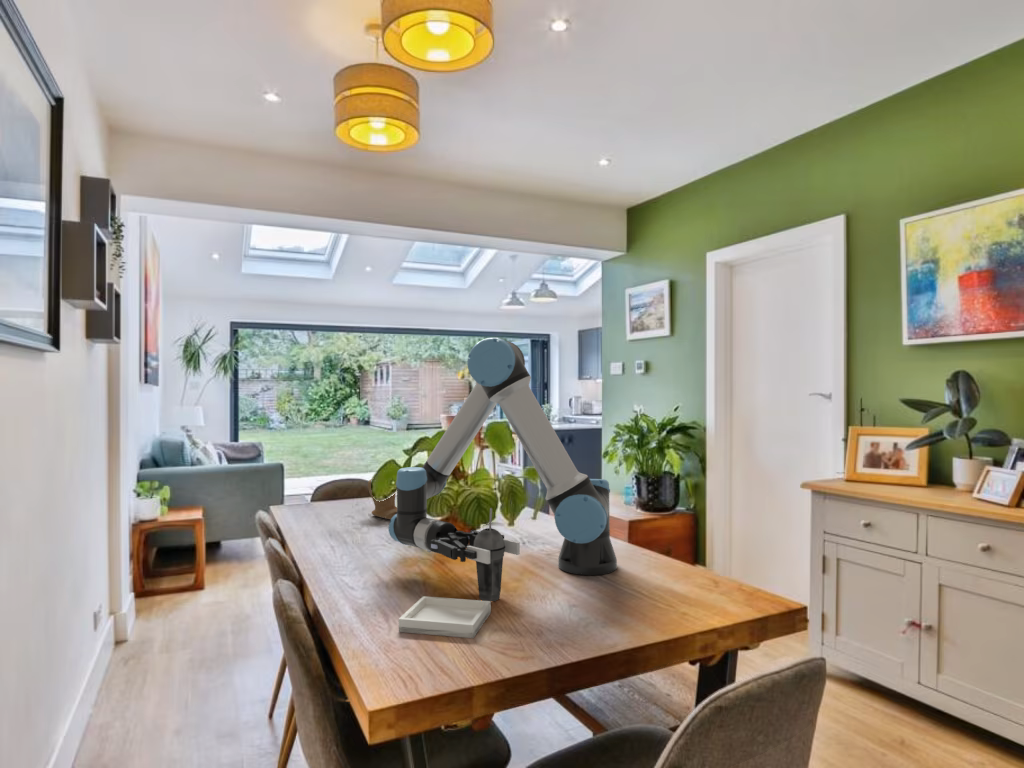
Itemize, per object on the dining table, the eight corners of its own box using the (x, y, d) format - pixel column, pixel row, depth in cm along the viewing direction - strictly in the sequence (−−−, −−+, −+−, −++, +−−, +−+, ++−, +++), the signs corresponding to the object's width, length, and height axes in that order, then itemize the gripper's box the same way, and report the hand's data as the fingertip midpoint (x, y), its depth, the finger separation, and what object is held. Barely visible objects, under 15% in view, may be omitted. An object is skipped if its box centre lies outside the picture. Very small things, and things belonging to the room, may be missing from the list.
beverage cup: (467, 601, 135) (467, 510, 135) (481, 591, 142) (480, 504, 142) (498, 606, 132) (497, 513, 132) (510, 595, 139) (510, 507, 139)
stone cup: (362, 516, 225) (362, 475, 225) (392, 512, 232) (392, 472, 232) (380, 523, 213) (380, 480, 213) (411, 519, 220) (411, 477, 220)
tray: (490, 613, 128) (490, 601, 128) (473, 638, 116) (473, 625, 116) (423, 607, 132) (422, 596, 132) (398, 631, 119) (398, 618, 119)
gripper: (469, 543, 157) (536, 559, 142) (401, 561, 142) (468, 581, 126) (468, 513, 157) (535, 527, 142) (400, 528, 142) (468, 545, 126)
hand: (504, 552), depth 134 cm, fingers open, 9 cm apart
